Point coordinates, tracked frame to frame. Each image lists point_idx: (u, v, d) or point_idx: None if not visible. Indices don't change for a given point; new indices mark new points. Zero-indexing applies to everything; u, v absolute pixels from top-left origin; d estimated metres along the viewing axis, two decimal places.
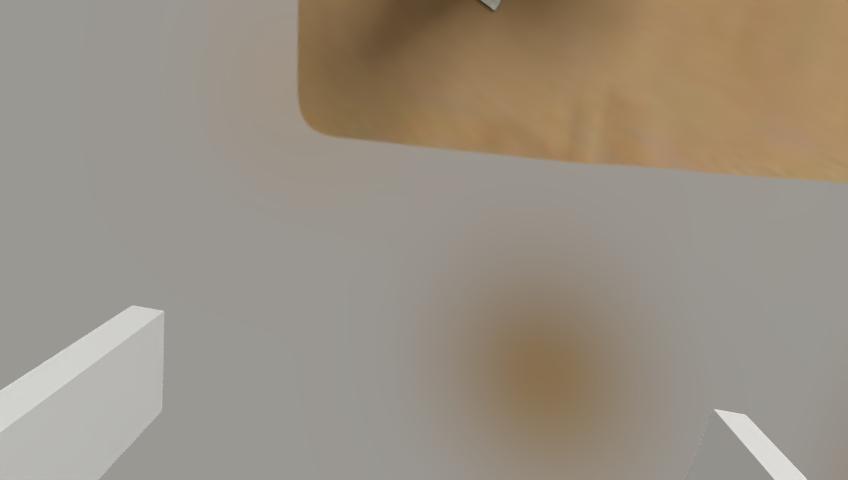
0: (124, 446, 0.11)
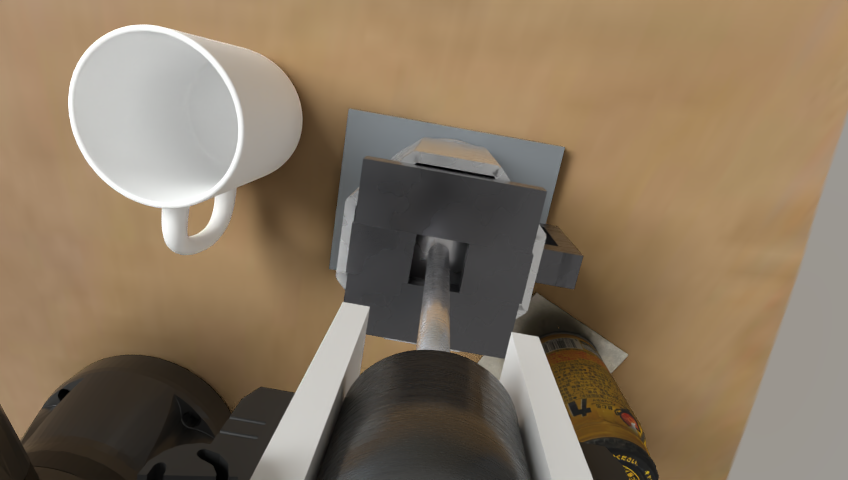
0: None
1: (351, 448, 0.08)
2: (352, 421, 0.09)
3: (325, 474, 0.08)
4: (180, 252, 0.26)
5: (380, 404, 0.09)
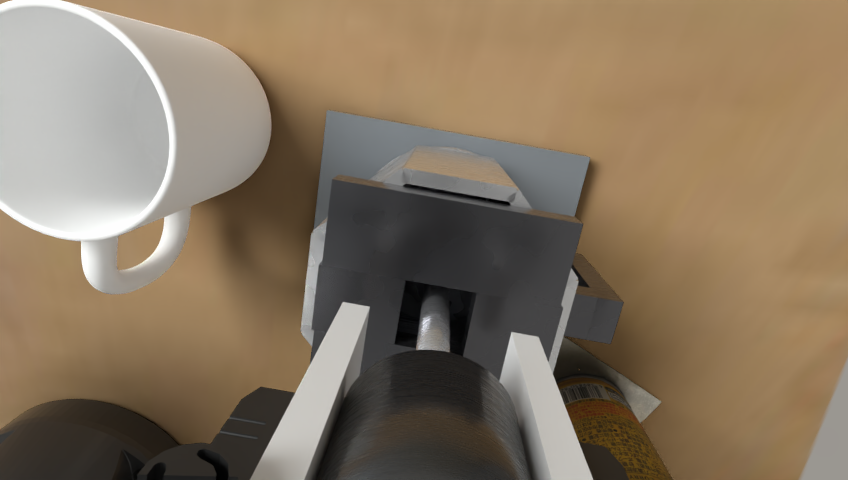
0: None
1: (351, 448, 0.08)
2: (352, 421, 0.09)
3: (325, 474, 0.08)
4: (109, 292, 0.21)
5: (379, 404, 0.09)
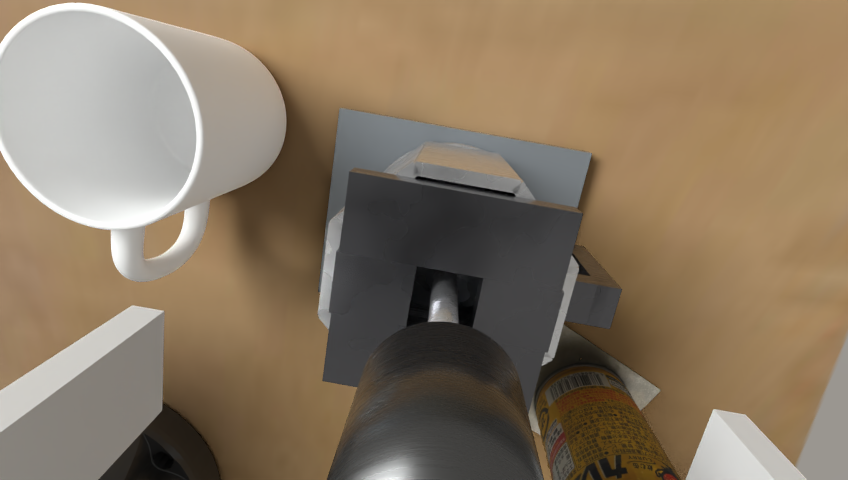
0: (124, 446, 0.11)
1: (376, 399, 0.09)
2: (375, 380, 0.10)
3: (353, 422, 0.09)
4: (136, 279, 0.22)
5: (399, 365, 0.10)
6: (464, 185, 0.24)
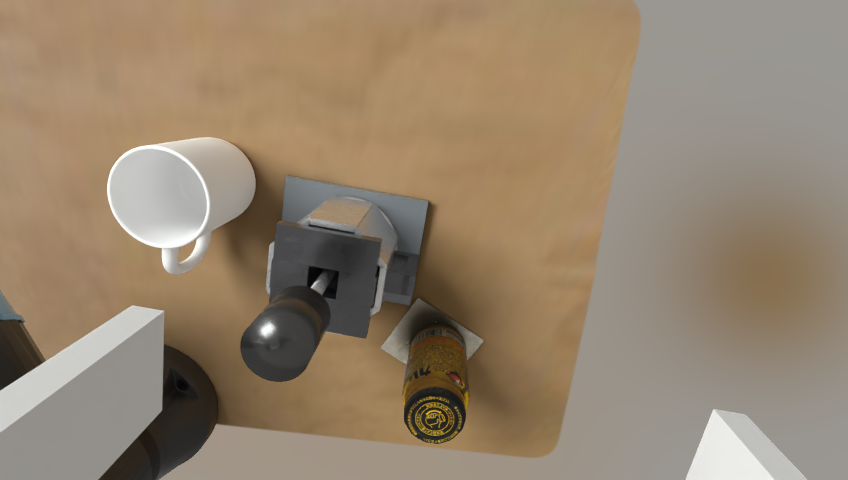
0: (124, 446, 0.11)
1: (267, 306, 0.29)
2: (270, 302, 0.30)
3: None
4: (173, 273, 0.42)
5: (278, 297, 0.30)
6: None
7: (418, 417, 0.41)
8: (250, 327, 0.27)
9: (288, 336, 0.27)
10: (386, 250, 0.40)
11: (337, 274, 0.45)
